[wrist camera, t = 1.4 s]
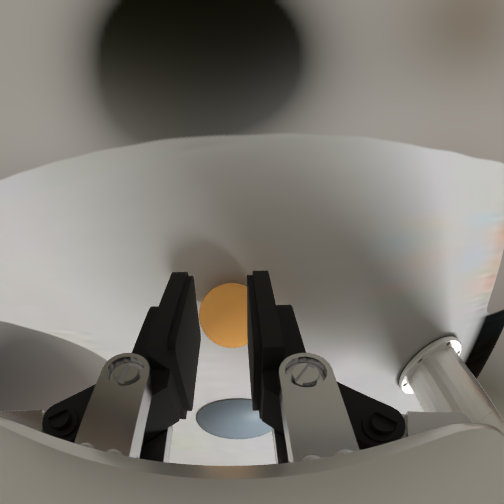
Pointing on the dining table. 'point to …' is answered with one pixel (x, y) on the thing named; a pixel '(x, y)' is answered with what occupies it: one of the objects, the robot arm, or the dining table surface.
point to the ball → (225, 315)
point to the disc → (232, 419)
